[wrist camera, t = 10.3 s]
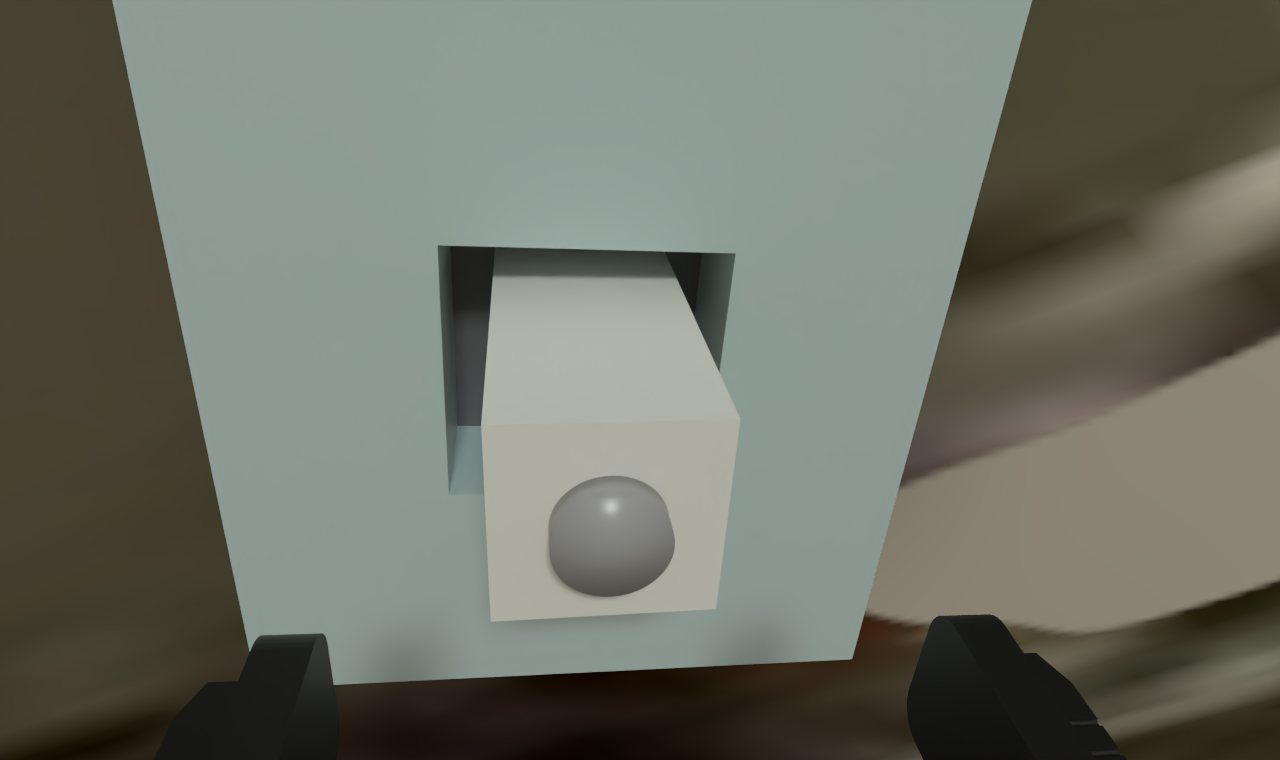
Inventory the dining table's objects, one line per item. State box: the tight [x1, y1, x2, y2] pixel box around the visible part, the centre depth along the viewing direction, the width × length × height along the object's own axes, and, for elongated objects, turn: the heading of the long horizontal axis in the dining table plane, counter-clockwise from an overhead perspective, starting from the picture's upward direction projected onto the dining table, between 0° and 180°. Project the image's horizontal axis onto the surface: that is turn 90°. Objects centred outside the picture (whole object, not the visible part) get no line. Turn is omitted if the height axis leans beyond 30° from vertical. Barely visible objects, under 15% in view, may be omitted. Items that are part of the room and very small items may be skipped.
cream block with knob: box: [481, 247, 740, 622], centre depth 17 cm, size 4×4×9 cm
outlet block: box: [112, 0, 1032, 685], centre depth 20 cm, size 16×18×4 cm
